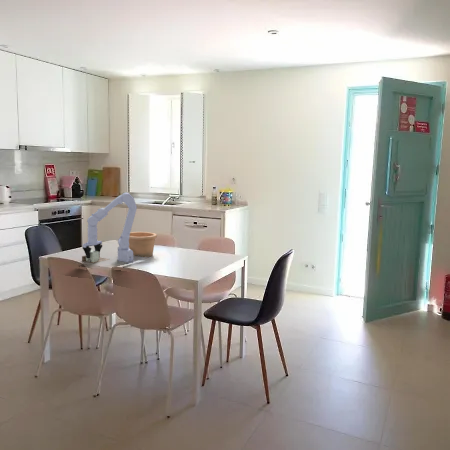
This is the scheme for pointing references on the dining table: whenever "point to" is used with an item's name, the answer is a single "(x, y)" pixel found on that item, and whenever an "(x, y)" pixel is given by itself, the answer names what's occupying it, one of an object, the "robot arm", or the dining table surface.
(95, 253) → the sage block
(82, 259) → the cleat board
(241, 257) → the dining table surface
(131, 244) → the pottery
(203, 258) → the dining table surface
